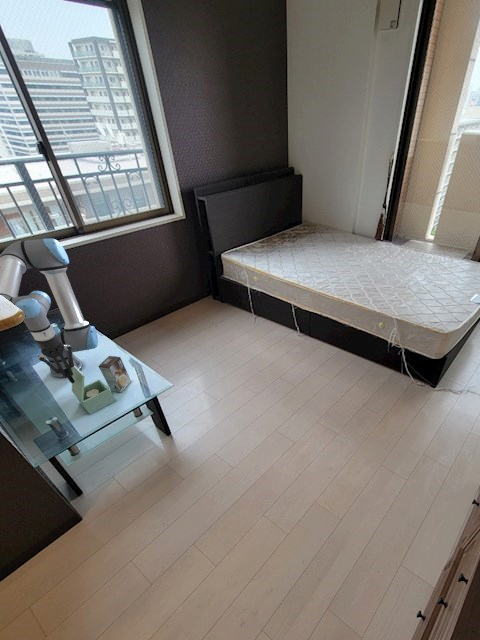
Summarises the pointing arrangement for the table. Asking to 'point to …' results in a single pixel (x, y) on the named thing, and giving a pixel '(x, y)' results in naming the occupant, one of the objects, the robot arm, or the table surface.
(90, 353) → the table surface
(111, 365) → the coffee box
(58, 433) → the table surface
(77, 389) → the lid
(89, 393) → the coffee pod
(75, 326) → the robot arm
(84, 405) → the pale green cubby
